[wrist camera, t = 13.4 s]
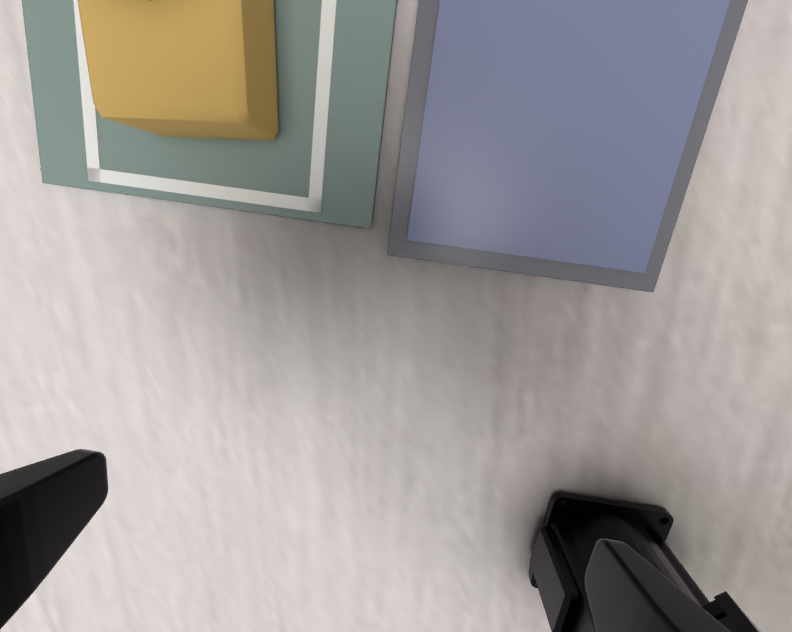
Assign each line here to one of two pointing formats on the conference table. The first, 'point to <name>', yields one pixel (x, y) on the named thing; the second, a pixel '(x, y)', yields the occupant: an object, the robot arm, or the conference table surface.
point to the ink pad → (556, 132)
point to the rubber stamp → (184, 66)
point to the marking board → (231, 158)
